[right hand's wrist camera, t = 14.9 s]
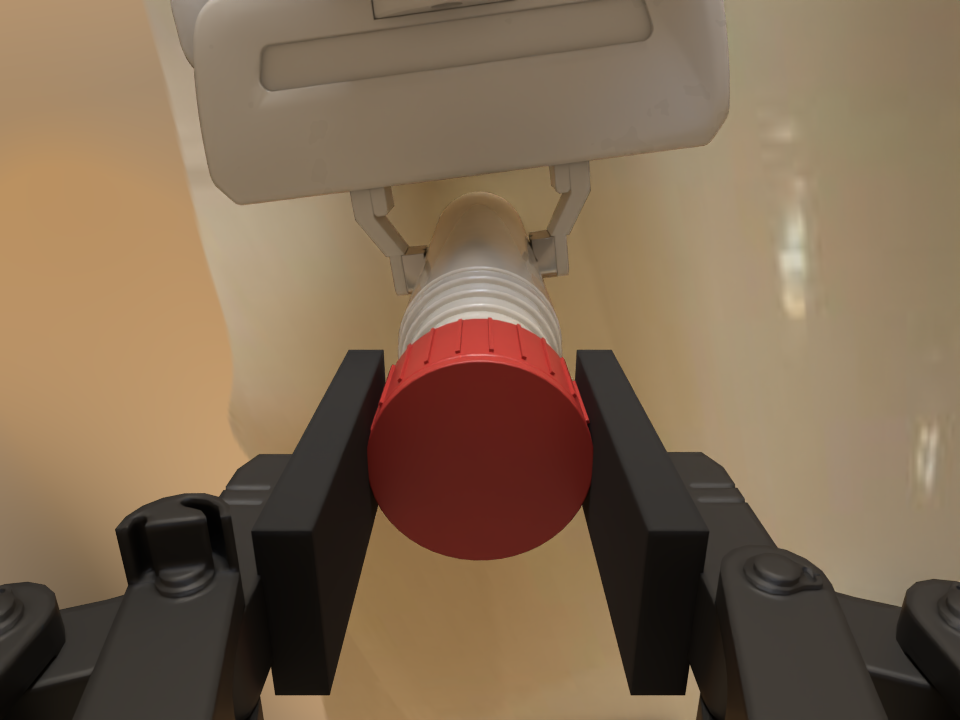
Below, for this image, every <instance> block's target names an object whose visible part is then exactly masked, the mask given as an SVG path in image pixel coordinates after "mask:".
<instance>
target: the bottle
mask: <svg viewBox="0 0 960 720" xmlns="http://www.w3.org/2000/svg"><path fill="white" fill-rule="evenodd" d="M488 317H491V318H492V319H493V320H500V321H504V322H508V323H512V324H515V325H517V324H520V325H521V327H522V328H525V329H527V330H528V331H530V332H532V333H534V334H536V335H537V336H538V337H540V338H542V337H543V338H545V339H546V342H547V344H548V345H549V346H550V347H551V348H552V349H554V350H555V352H556V353H557V354H558V356H559V357H560V358H561V357H562V336H561V329H560V325H559V321H558V318H557V315H556V313H555V310H554V307H553V305H552V302H551V299H550V297H549V294H548V291H547V288H546V286H545V283H544V280H543V278H542V275H541V272H540V269H539V267H538V264H537V261H536V259H535V256H534V253H533V251H532V248H531V245H530V242H529V240H528V237H527V234H526V232H525V229H524V226H523V223H522V221H521V218H520V216H519V214H518V213H517V211H516V210H515V208H514V207H513V206H512V205H511V204H510V203H509V202H508V201H506V200H505V199H504V198H502V197H500V196H498V195H496V194H493V193H489V192H471V193H467V194H464V195H462V196H460V197H458V198H456V199H455V200H453V201H452V202H451V203H450V204H449V205H448V206H447V207H446V208H445V209H444V211H443V212H442V214H441V216H440V218H439V221H438V223H437V226H436V229H435V231H434V234H433V237H432V240H431V242H430V245H429V248H428V250H427V253H426V256H425V259H424V261H423V264H422V267H421V270H420V272H419V275H418V278H417V281H416V283H415V286H414V289H413V291H412V294H411V297H410V300H409V302H408V305H407V308H406V311H405V313H404V316H403V319H402V321H401V325H400V330H399V338H398V360H399V358H400V357H401V356H402V355H403V353H404V352H405V351H406V349H407V346H408V345H409V344H410V343H411V344H413V343H414V342H415V341H417V340H418V339H419V338H421V337H422V336H423V335H425V334H427V333H428V332H430V330H431V329H432V328H435V329H436V328H438V327H441V326H443V325H445V324H448V323H452V322H456V321H458V319H462V320H466V319H488Z"/></svg>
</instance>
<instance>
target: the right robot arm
mask: <svg viewBox="0 0 960 720" xmlns="http://www.w3.org/2000/svg"><path fill="white" fill-rule="evenodd" d="M575 381H576V384H577V387H578V390H579V393H580V396H581V398H582V401H583V404H584V407H585V410H586V413H587V416H588V418H589V421H590V423H589V424H587V426H588V428H589V431H590V435H591V439H592V443H593V464H592V477H591V485H590V488H589V491H588V493H587V496H586V498H585V500H584V502H583V504H582V506H583V510H584V514H585V518H586V522H587V526H588V530H589V534H590V537H591V541H592V545H593V549H594V553H595V557H596V561H597V565H598V569H599V573H600V577H601V580H602V584H603V588H604V592H605V596H606V600H607V604H608V608H609V612H610V616H611V620H612V623H613V627H614V631H615V635H616V639H617V643H618V647H619V651H620V655H621V659H622V663H623V666H624V670H625V674H626V678H627V682H628V686H629V690H630V694H631V695H685V693H686V686H687V679H688V673H689V666H691V668H692V671H693V674H694V676H695V679H696V682H697V684H698V687H699V690H700V699H699V705H698V711H697V717H696V720H960V582H957V581H948V580H938V579H931V580H926V581H920V582H916V583H915V584H914V585H912V586H911V587H910V588H909V589H908V590H907V591H906V595H905V598H904V602H903V605H902V607H898V606H894V605H889V604H884V603H879V602H875V601H870V600H865V599H861V598H856V597H852V596H848V595H845V594H841V593H838V592H835V591H834V588H833V586H832V584H831V583H830V581H829V580H828V578H827V577H826V576H825V574H824V573H823V571H822V570H820V569H819V568H818V567H816V566H815V565H814V564H812V563H811V562H810V561H808V560H807V559H805V558H803V557H801V556H799V555H796V554H794V553H792V552H790V551H787V550H784V549H780V548H777V546H776V545H775V543H774V542H773V540H772V539H771V537H770V536H769V534H768V533H767V531H766V530H765V528H764V527H763V525H762V524H761V522H760V521H759V519H758V518H757V516H756V515H755V513H754V512H753V510H752V509H751V508H750V506H749V505H748V503H745V499H744V497H743V496H742V494H741V493H740V491H739V490H738V488H735V484H734V482H733V481H732V479H731V478H730V476H729V475H728V473H727V472H726V470H725V469H724V468H723V467H722V466H721V465H719V464H718V463H716V462H715V461H714V460H712V459H711V458H709V457H708V456H706V455H705V454H703V453H702V452H667V451H666V450H665V448H664V446H663V444H662V442H661V440H660V438H659V437H658V435H657V433H656V431H655V429H654V427H653V426H652V424H651V422H650V420H649V418H648V416H647V414H646V413H645V411H644V409H643V407H642V405H641V403H640V401H639V400H638V398H637V396H636V394H635V392H634V390H633V389H632V387H631V385H630V383H629V381H628V379H627V377H626V376H625V374H624V372H623V370H622V368H621V366H620V364H619V363H618V361H617V359H616V357H615V355H614V353H613V352H612V350H577V356H576V374H575ZM384 386H385V366H384V350H348V352H347V354H346V356H345V358H344V360H343V362H342V363H341V365H340V367H339V369H338V371H337V373H336V375H335V376H334V378H333V380H332V382H331V384H330V386H329V387H328V389H327V391H326V393H325V395H324V397H323V399H322V400H321V402H320V404H319V406H318V408H317V410H316V412H315V413H314V415H313V417H312V419H311V421H310V423H309V424H308V426H307V428H306V430H305V432H304V434H303V436H302V437H301V439H300V441H299V443H298V445H297V447H296V449H295V450H294V452H293V454H259V455H257V456H256V457H255V458H253V459H252V460H250V461H249V462H247V463H246V464H244V465H243V466H242V467H240V468H239V469H237V471H236V472H235V474H234V475H233V477H232V478H231V480H230V481H229V483H228V484H227V486H226V490H223V492H222V493H221V495H220V496H219V497H217V496H213V495H209V494H205V493H186V494H180V495H175V496H170V497H165V498H161V499H159V500H156V501H154V502H151V503H149V504H146V505H144V506H142V507H140V508H139V509H137V510H135V511H134V512H132V513H131V514H129V515H128V516H126V517H125V518H124V519H123V521H122V522H121V523H120V524H119V525H118V526H117V528H116V529H115V531H116V535H117V540H118V544H119V548H120V552H121V556H122V561H123V565H124V569H125V573H126V578H127V582H128V587H127V590H126V592H125V594H124V595H122V596H119V597H115V598H111V599H108V600H103V601H99V602H94V603H89V604H85V605H80V606H75V607H71V608H66V609H61V610H59V607H58V603H57V600H56V596H55V593H54V592H53V591H51V590H50V589H49V588H48V587H47V586H46V585H42V584H37V583H31V582H22V583H12V584H4V585H1V586H0V720H264V718H263V712H262V705H261V699H260V694H261V692H262V689H263V686H264V684H265V681H266V678H267V676H268V673H269V670H270V668H271V669H272V676H273V683H274V690H275V695H330V692H331V688H332V684H333V680H334V676H335V672H336V668H337V664H338V660H339V656H340V652H341V649H342V645H343V641H344V637H345V633H346V629H347V625H348V621H349V617H350V613H351V609H352V606H353V602H354V598H355V594H356V590H357V586H358V582H359V578H360V574H361V570H362V566H363V563H364V559H365V555H366V551H367V547H368V543H369V539H370V535H371V531H372V527H373V523H374V519H375V516H376V512H377V508H378V503H377V501H376V499H375V497H374V495H373V492H372V490H371V487H370V483H369V473H368V458H367V446H368V441H369V437H370V429H371V426H372V423H373V420H374V417H375V414H376V411H377V408H378V404H379V401H380V398H381V395H382V392H383V389H384Z"/></svg>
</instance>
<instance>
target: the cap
mask: <svg viewBox="0 0 960 720" xmlns="http://www.w3.org/2000/svg"><path fill="white" fill-rule="evenodd" d="M589 423H590V421H589V418H588V416H587V413H586V410H585V407H584V404H583V401H582V398H581V396H580V393H579V390H578V387H577V384H576V381H572V379H571V376H570V374H569V371H568V368H567V365H566V362H565V359H564V358H563V357H561V358H560V357H559V356H558V354H557V353H556V352H555V350H554V349H552V348H551V347H550V346H549V345H548V344H547V342H546V339H545V338H543V337H542V338H540V337H538V336H537V335H536V334H534V333H532V332H530V331H528V330H527V329H525V328H522V327H521V325H520V324H517V325H515V324H512V323H508V322H504V321H500V320H493V319H492V318H491V317H488V319H466V320H462V319H458V321H456V322H452V323H448V324H445V325H443V326H441V327H438V328H436V329H435V328H432V329H431V330H430V332H428V333H427V334H425V335H423V336H422V337H421V338H419V339H418V340H417V341H415V342H414V343H413V344H411V343H410V344H409V345H408V346H407V349H406V351H405V352H404V353H403V355H402V356H401V357H400V358H399V360H398V361H397V363H396V365H392V366H391V368H390V371H389V374H388V377H387V380H386V383H385V386H384V389H383V392H382V395H381V398H380V401H379V404H378V408H377V411H376V414H375V417H374V420H373V423H372V426H371V429H370V437H369V441H368V446H367V458H368V473H369V483H370V487H371V490H372V492H373V495H374V497H375V499H376V501H377V503H378V505H379V507H380V508H381V510H382V512H383V513H384V514H385V516H386V517H387V518H388V520H389V521H390V522H391V523H392V524H393V525H394V526H395V527H396V528H397V529H398V530H399V531H400V532H401V533H403V534H404V535H405V536H407V537H408V538H409V539H411V540H412V541H414V542H415V543H417V544H419V545H420V546H422V547H424V548H427V549H429V550H431V551H433V552H436V553H439V554H442V555H445V556H449V557H454V558H458V559H466V560H494V559H502V558H507V557H511V556H516V555H518V554H521V553H524V552H527V551H530V550H532V549H534V548H536V547H538V546H540V545H542V544H543V543H545V542H547V541H548V540H550V539H551V538H553V537H554V536H555V535H556V534H558V533H559V532H560V531H561V530H563V529H564V527H565V526H566V525H567V524H568V523H569V522H570V521H571V520H572V519H573V517H574V516H575V515H576V513H577V512H578V511H579V509H580V508H581V506H582V504H583V502H584V500H585V498H586V496H587V493H588V491H589V488H590V485H591V477H592V464H593V443H592V439H591V435H590V431H589V428H588V426H587V424H589Z"/></svg>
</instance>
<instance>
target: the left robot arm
mask: <svg viewBox="0 0 960 720" xmlns="http://www.w3.org/2000/svg"><path fill="white" fill-rule="evenodd" d="M171 7H172V12H173V16H174V20H175V24H176V28H177V32H178V36H179V39H180V43H181V47H182V49H183V52H184V54H185V56H186V58H187V60H188V62H189V63H190V64H191V66H192V67H193V68H194V77H195V87H196V97H197V105H198V113H199V120H200V127H201V132H202V138H203V144H204V149H205V154H206V159H207V164H208V168H209V172H210V176H211V179H212V181H213V183H214V184H215V186H216V187H217V188H218V189H220V190H221V191H222V192H223V193H224V194H225V195H226V196H227V197H228V198H230V199H231V200H232V201H233V202H234V203H236V204H238V205H248V204H256V203H264V202H272V201H279V200H287V199H295V198H303V197H311V196H318V195H326V194H334V193H342V192H349V191H350V195H351V200H352V205H353V210H354V216H355V220H356V221H357V223H358V224H359V225H360V226H361V227H362V229H363V230H364V231H365V232H366V233H367V235H368V236H369V237H370V238H371V239H372V240H373V242H374V243H375V244H376V245H377V246H378V248H379V249H380V250H381V251H382V252H383V254H384V255H385V256H386V257H389V258H390V263H391V269H392V274H393V280H394V286H395V291H396V293H397V295H408V294H412V291H413V289H414V286H415V283H416V281H417V278H418V275H419V272H420V270H421V267H422V264H423V261H424V259H425V256H426V253H427V250H428V249H427V245H423V246H413V247H408V245H407V243H406V242H405V241H404V239H403V238H402V237H401V235H400V234H399V233H398V231H397V230H396V229H395V228H394V226H393V225H392V224H391V222H390V221H389V220H388V218H387V217H386V215H387V214H388V212H389V211H390V210H391V209H392V208H393V206H394V201H393V194H392V188H391V186H396V185H404V184H411V183H419V182H427V181H435V180H442V179H450V178H458V177H466V176H474V175H481V174H489V173H497V172H505V171H512V170H520V169H528V168H536V167H543V166H549V170H550V180H551V186H552V187H553V188H554V189H555V190H556V191H557V192H558V193H559V194H560V193H562V195H561V197H560V199H559V202H558V204H557V206H556V209H555V211H554V213H553V215H552V218H551V220H550V222H549V224H548V227H547V230H542V231H535V232H529V242H530V245H531V248H532V251H533V253H534V256H535V259H536V261H537V264H538V267H539V269H540V272H541V275H542V278H548V277H557V276H565V275H568V274H569V263H568V250H567V237H566V235H569V234H570V232H571V230H572V228H573V226H574V224H575V222H576V220H577V218H578V215H579V213H580V211H581V209H582V207H583V205H584V203H585V201H586V199H587V197H588V195H589V193H590V191H591V189H590V171H589V161H590V160H598V159H606V158H613V157H621V156H629V155H637V154H644V153H652V152H660V151H668V150H675V149H683V148H691V147H698V146H704V145H707V144H708V143H710V142H711V140H712V139H713V138H714V136H715V135H716V134H717V132H718V131H719V129H720V128H721V126H722V125H723V123H724V121H725V120H726V118H727V116H728V112H729V102H730V71H729V51H728V37H727V26H726V16H725V9H724V1H723V0H171Z"/></svg>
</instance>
